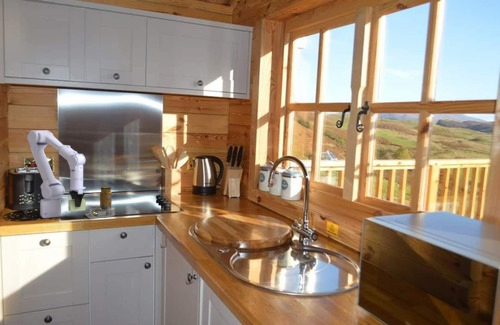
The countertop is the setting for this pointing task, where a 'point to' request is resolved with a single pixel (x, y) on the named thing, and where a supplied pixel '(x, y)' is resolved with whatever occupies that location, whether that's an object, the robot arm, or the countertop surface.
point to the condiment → (105, 198)
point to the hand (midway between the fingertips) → (76, 205)
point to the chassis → (99, 213)
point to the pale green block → (72, 207)
